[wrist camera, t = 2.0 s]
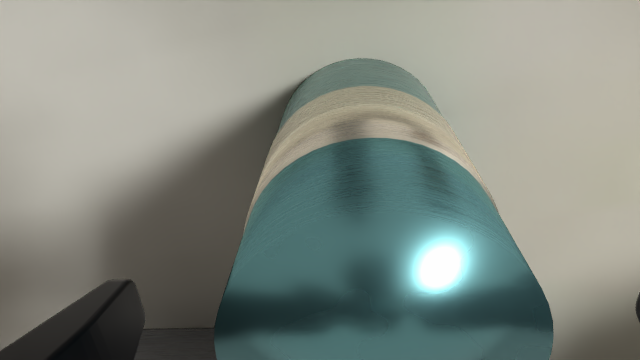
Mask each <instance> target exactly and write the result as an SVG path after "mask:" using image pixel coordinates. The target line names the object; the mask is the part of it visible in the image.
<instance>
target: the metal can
mask: <svg viewBox="0 0 640 360" xmlns="http://www.w3.org/2000/svg"><path fill="white" fill-rule="evenodd" d="M552 344H553V320H552V316H551V312H550V308H549V304H548V302H547V299H546V297H545V295H544V293H543V291H542V288H541V287H540V285H539V283H538V281H537V280H536V278H535V276H534V274H533V273H532V271H531V269H530V267H529V266H528V264H527V262H526V261H525V259H524V257H523V255H522V254H521V252H520V250H519V248H518V247H517V245H516V243H515V241H514V240H513V238H512V236H511V234H510V233H509V231H508V229H507V228H506V226H505V224H504V222H503V221H502V219H501V217H500V215H499V213H498V210H497V207H496V205H495V203H494V200H493V198H492V196H491V194H490V192H489V191H488V189H487V187H486V186H485V184H484V182H483V180H482V179H481V177H480V175H479V174H478V172H477V170H476V169H475V167H474V165H473V163H472V162H471V160H470V158H469V157H468V155H467V153H466V152H465V150H464V148H463V147H462V145H461V143H460V141H459V140H458V138H457V136H456V135H455V133H454V131H453V130H452V128H451V127H450V126H449V124H448V123H447V121H446V120H445V119H444V118H443V116H442V115H441V113H440V111H439V109H438V108H437V106H436V104H435V103H434V101H433V99H432V97H431V96H430V94H429V93H428V91H427V90H426V88H425V87H424V86H423V85H422V84H421V83H420V82H419V80H417V79H416V78H415V77H414V76H413V75H411V74H410V73H409V72H407V71H405V70H404V69H402V68H400V67H398V66H396V65H394V64H391V63H388V62H385V61H381V60H375V59H361V58H357V59H349V60H344V61H340V62H336V63H333V64H331V65H328V66H326V67H324V68H322V69H320V70H318V71H317V72H315V73H314V74H312V75H311V76H310V77H308V78H307V79H306V80H305V81H304V82H303V83H302V84H301V85H300V86H299V87H298V88H297V90H296V91H295V92H294V94H293V95H292V97H291V99H290V100H289V102H288V104H287V106H286V109H285V112H284V114H283V117H282V120H281V123H280V126H279V129H278V132H277V135H276V137H275V139H274V140H273V143H272V145H271V148H270V150H269V153H268V156H267V159H266V162H265V165H264V167H263V170H262V173H261V176H260V179H259V182H258V185H257V188H256V191H255V194H254V197H253V199H252V202H251V205H250V208H249V211H248V214H247V217H246V222H245V226H244V231H243V237H242V240H241V243H240V246H239V249H238V252H237V255H236V258H235V261H234V264H233V267H232V270H231V273H230V276H229V279H228V282H227V285H226V288H225V291H224V294H223V297H222V300H221V303H220V306H219V309H218V313H217V318H216V322H215V329H214V345H215V352H216V358H217V360H549V358H550V355H551V351H552Z"/></svg>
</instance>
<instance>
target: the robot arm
mask: <svg viewBox="0 0 640 360" xmlns="http://www.w3.org/2000/svg"><path fill="white" fill-rule="evenodd" d="M636 314H637V317H638V320H639V322H640V292H639V295H638V298H637V301H636ZM144 323H145V313H144V309H143V306H142V303H141V300H140V297H139V294H138V291H137V288H136V285H135V283H134V282H133V281H132V280H130V279H112V280H108V281H106V282H105V283H103V284H102V285H100V286H99V287H97V288H95V289H94V290H92V291H91V292H89V293H88V294H86V295H85V296H83V297H82V298H80V299H79V300H77V301H76V302H74V303H73V304H71V305H70V306H68V307H67V308H65V309H63V310H62V311H60V312H59V313H57V314H56V315H54V316H53V317H51V318H50V319H48V320H47V321H45V322H44V323H42V324H41V325H39V326H38V327H36V328H34V329H33V330H31V331H30V332H28V333H27V334H25V335H24V336H22V337H21V338H19V339H18V340H16V341H15V342H13V343H12V344H10V345H9V346H7V347H5V348H4V349H2V350H1V351H0V360H134V359H135V355H136V352H137V348H138V345H139V342H140V338H141V335H142V331H143V328H144Z"/></svg>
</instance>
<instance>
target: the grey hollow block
mask: <svg viewBox="0 0 640 360" xmlns="http://www.w3.org/2000/svg"><path fill="white" fill-rule="evenodd" d="M214 329H215V328H202V329H143V331H142V335H141V338H140V342H139V345H138V348H137V352H136V355H135V359H134V360H217V358H216V352H215V345H214Z"/></svg>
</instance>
